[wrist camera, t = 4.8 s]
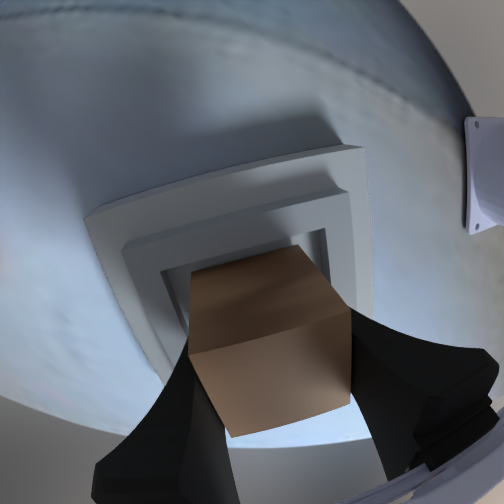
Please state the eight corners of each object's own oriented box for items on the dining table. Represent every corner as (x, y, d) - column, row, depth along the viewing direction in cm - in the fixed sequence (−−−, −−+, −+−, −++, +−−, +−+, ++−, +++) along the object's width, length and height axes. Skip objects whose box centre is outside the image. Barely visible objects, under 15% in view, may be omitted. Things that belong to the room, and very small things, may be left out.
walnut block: (298, 244, 12) (350, 310, 8) (309, 327, 14) (349, 403, 9) (191, 272, 12) (187, 355, 7) (220, 352, 14) (231, 437, 9)
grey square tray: (343, 144, 13) (376, 149, 10) (357, 335, 18) (378, 365, 15) (98, 206, 12) (74, 226, 10) (179, 385, 17) (178, 421, 15)
